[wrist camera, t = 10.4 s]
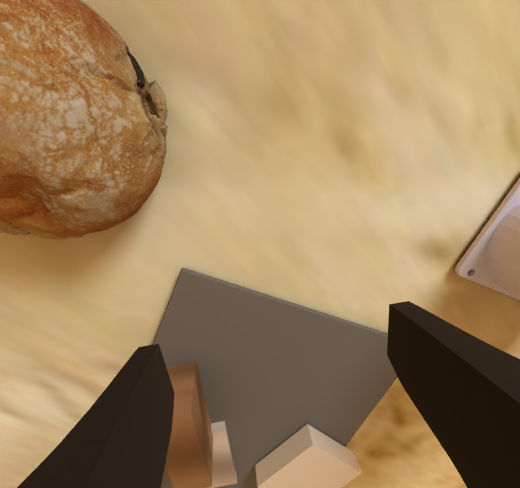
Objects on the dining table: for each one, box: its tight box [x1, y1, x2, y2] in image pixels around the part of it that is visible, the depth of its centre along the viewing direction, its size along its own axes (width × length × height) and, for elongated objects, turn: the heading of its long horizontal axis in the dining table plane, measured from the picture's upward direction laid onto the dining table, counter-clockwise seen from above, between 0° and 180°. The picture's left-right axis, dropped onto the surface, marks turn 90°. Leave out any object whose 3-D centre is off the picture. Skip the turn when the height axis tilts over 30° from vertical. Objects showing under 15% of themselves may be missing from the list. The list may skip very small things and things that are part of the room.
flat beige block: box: [255, 424, 362, 488], centre depth 26 cm, size 2×6×6 cm
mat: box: [153, 268, 398, 488], centre depth 25 cm, size 18×22×1 cm
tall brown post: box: [165, 361, 237, 488], centre depth 23 cm, size 13×4×4 cm, turn 6°
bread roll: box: [0, 0, 167, 239], centre depth 14 cm, size 10×10×8 cm
